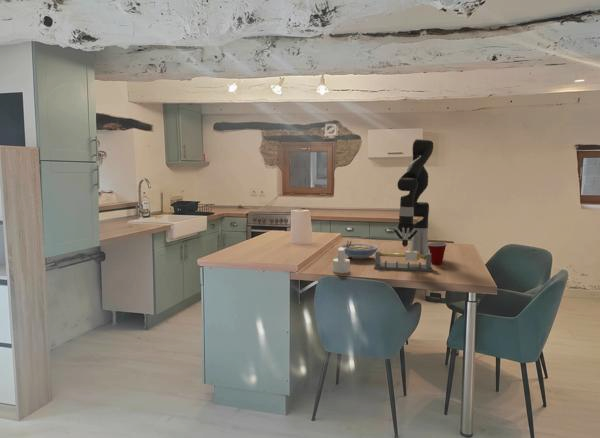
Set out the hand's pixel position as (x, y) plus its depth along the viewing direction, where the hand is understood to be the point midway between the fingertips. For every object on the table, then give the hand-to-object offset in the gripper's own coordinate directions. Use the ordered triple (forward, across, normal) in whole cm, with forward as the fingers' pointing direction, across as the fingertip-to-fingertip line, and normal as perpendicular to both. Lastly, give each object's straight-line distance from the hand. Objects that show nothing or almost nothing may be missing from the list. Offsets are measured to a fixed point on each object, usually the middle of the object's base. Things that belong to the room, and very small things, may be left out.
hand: (404, 246), depth 243 cm
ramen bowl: (+13, -27, +21) cm, 36 cm away
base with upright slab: (+13, -32, -15) cm, 38 cm away
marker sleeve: (+7, +4, 0) cm, 8 cm away
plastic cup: (+12, +18, +15) cm, 27 cm away
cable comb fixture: (+12, -1, 0) cm, 12 cm away
